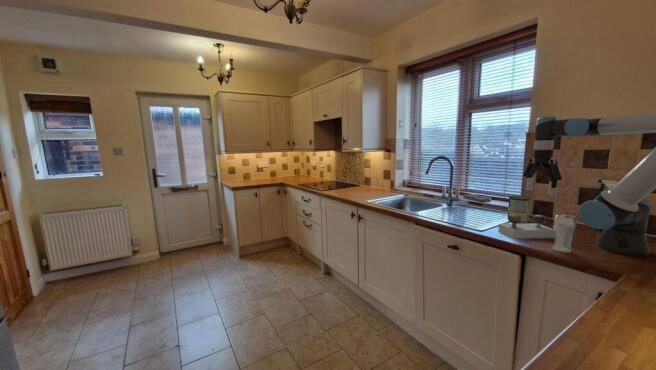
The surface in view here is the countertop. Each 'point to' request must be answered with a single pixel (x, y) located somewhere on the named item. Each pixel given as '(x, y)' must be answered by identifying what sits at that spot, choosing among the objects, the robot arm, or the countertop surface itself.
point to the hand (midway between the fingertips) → (539, 192)
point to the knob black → (539, 219)
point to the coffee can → (519, 207)
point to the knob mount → (526, 231)
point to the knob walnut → (514, 220)
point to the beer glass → (563, 232)
